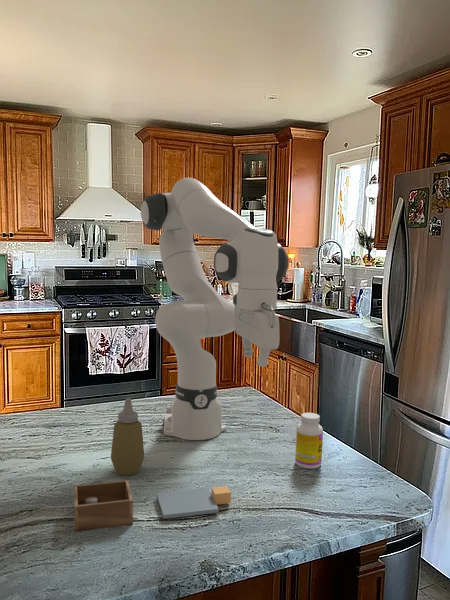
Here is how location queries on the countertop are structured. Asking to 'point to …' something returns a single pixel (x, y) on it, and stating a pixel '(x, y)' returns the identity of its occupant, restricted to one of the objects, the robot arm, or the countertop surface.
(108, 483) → the walnut box
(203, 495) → the lid
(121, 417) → the squeeze bottle
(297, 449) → the supplement bottle
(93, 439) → the countertop surface
